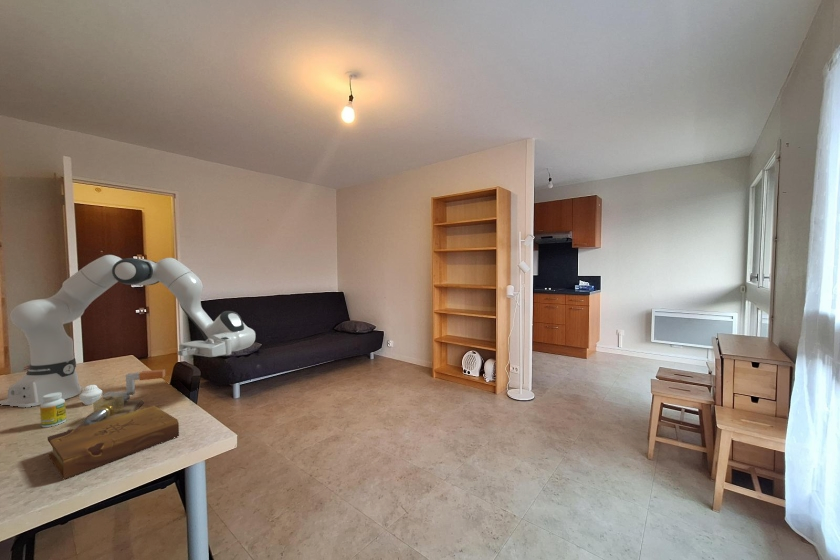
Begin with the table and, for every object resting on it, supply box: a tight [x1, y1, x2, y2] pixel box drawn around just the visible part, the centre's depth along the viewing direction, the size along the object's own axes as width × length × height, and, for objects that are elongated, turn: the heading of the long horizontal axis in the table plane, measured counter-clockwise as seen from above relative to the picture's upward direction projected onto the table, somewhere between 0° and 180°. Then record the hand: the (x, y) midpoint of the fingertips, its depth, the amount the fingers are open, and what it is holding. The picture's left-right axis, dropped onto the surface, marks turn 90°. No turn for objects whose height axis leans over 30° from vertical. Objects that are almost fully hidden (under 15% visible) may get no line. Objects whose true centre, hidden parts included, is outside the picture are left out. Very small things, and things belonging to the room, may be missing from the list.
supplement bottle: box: [39, 392, 67, 428], centre depth 103 cm, size 5×5×10 cm
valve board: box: [66, 398, 145, 431], centre depth 108 cm, size 20×11×2 cm, turn 20°
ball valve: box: [84, 395, 131, 426], centre depth 108 cm, size 20×5×6 cm, turn 20°
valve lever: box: [102, 368, 166, 399], centre depth 110 cm, size 17×3×7 cm, turn 110°
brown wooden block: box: [47, 405, 180, 480], centre depth 90 cm, size 23×19×6 cm
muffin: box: [78, 384, 103, 406], centre depth 119 cm, size 6×6×7 cm
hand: (180, 353), depth 119 cm, fingers closed
